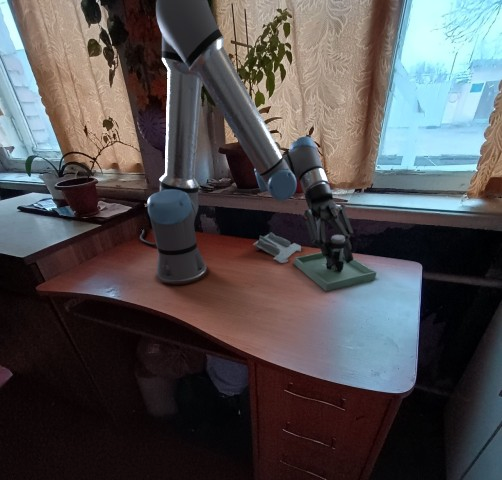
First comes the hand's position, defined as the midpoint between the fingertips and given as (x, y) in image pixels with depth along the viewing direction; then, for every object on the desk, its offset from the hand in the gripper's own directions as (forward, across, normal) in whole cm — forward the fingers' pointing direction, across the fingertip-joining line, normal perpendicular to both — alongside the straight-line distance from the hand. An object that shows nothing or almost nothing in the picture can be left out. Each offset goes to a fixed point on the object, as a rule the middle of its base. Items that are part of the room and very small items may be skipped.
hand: (341, 263), depth 90 cm
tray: (0, 0, -6) cm, 6 cm away
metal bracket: (-14, +10, -21) cm, 27 cm away
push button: (0, 0, -5) cm, 5 cm away
